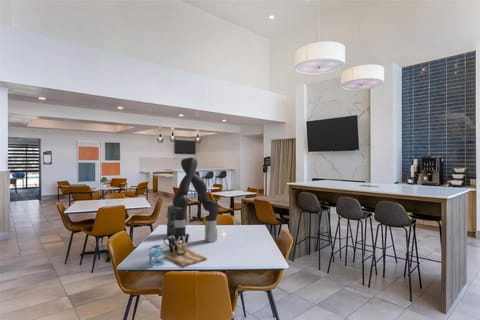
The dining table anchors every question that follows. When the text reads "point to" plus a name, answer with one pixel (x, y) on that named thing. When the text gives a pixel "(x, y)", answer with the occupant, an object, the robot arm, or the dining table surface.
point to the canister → (171, 219)
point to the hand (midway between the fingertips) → (179, 250)
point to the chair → (155, 255)
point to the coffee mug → (170, 243)
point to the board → (185, 258)
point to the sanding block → (181, 248)
